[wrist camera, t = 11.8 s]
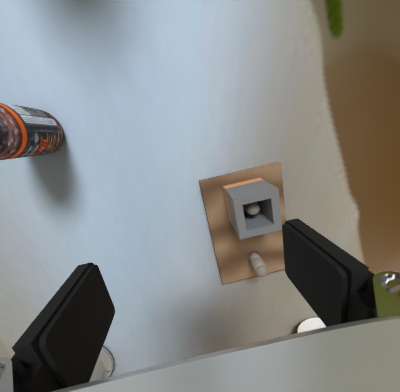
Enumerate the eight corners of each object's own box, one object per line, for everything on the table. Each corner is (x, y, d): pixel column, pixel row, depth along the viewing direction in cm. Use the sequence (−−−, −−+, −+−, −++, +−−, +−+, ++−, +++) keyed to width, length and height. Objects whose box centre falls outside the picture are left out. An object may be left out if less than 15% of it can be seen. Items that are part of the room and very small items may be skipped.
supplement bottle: (53, 161, 30) (-21, 177, 19) (12, 136, 28) (-93, 138, 17) (73, 127, 28) (6, 124, 18) (31, 99, 27) (-70, 76, 16)
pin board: (287, 263, 38) (305, 287, 33) (221, 279, 38) (228, 306, 32) (277, 162, 32) (298, 168, 26) (199, 180, 32) (202, 190, 26)
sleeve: (259, 177, 32) (278, 188, 25) (264, 211, 33) (282, 229, 27) (223, 186, 31) (232, 198, 25) (229, 220, 33) (239, 239, 27)
